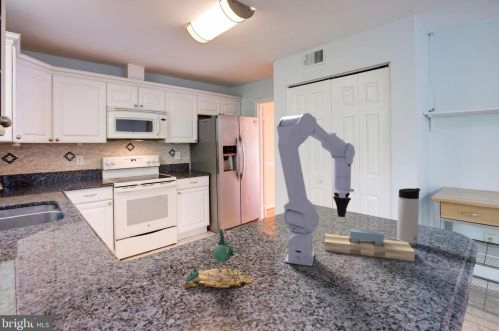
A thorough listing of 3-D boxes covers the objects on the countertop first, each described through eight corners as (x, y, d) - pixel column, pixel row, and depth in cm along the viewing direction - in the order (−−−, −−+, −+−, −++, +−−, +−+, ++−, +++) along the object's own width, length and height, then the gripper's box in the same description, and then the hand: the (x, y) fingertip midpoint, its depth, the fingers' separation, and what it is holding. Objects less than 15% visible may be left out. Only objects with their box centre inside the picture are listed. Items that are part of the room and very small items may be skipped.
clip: (383, 254, 81) (383, 234, 81) (349, 250, 84) (350, 231, 84) (381, 251, 83) (382, 232, 83) (349, 247, 86) (349, 229, 86)
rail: (414, 261, 76) (414, 251, 76) (324, 250, 84) (324, 241, 84) (407, 251, 83) (407, 242, 83) (325, 242, 92) (325, 233, 91)
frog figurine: (188, 271, 70) (193, 219, 69) (252, 279, 69) (259, 227, 69) (178, 291, 60) (184, 230, 59) (252, 299, 60) (259, 239, 59)
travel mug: (421, 247, 87) (424, 189, 85) (400, 245, 88) (402, 189, 87) (413, 240, 93) (415, 187, 91) (394, 239, 94) (396, 186, 93)
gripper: (355, 179, 82) (354, 220, 83) (353, 175, 95) (352, 210, 96) (332, 178, 84) (331, 218, 85) (333, 174, 98) (332, 208, 99)
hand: (341, 214), depth 91 cm, fingers open, 7 cm apart
